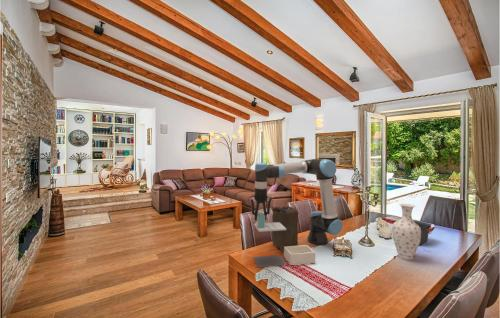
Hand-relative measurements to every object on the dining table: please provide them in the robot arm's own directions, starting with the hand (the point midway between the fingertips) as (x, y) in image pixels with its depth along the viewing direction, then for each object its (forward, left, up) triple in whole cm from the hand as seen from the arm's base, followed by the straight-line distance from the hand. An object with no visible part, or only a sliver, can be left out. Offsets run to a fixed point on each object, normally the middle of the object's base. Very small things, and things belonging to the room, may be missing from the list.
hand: (260, 225), depth 150 cm
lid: (-6, 0, -2) cm, 6 cm away
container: (-22, -18, -23) cm, 37 cm away
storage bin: (-128, -10, -23) cm, 131 cm away
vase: (-96, +11, -23) cm, 99 cm away
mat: (-6, 0, -23) cm, 24 cm away
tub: (-25, +2, -23) cm, 34 cm away
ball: (-28, 0, -22) cm, 36 cm away
